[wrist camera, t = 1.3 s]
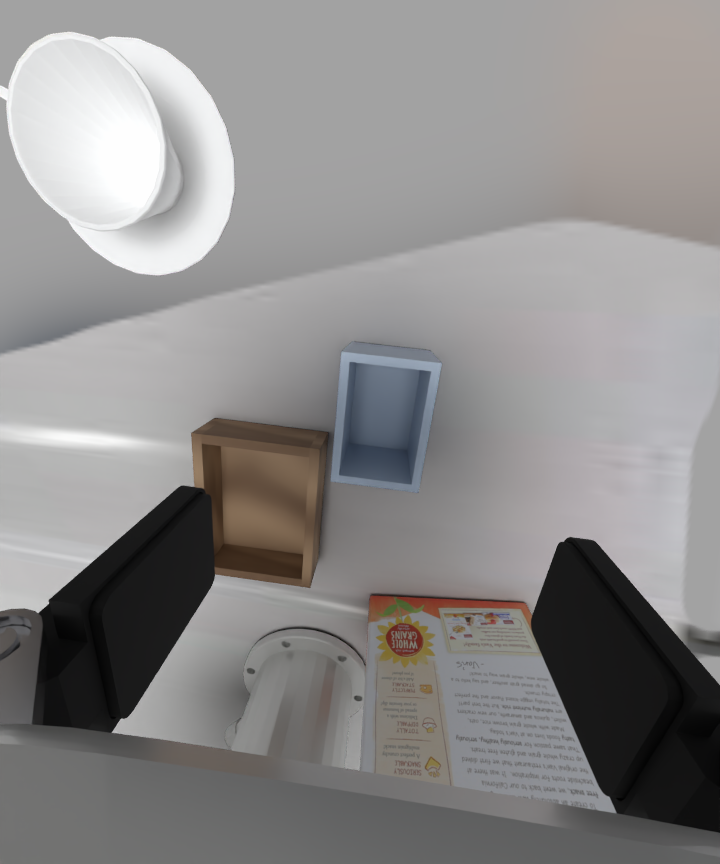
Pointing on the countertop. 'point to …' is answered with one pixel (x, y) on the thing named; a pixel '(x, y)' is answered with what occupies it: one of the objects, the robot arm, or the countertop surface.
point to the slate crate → (383, 415)
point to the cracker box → (468, 703)
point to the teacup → (123, 148)
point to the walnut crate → (262, 498)
